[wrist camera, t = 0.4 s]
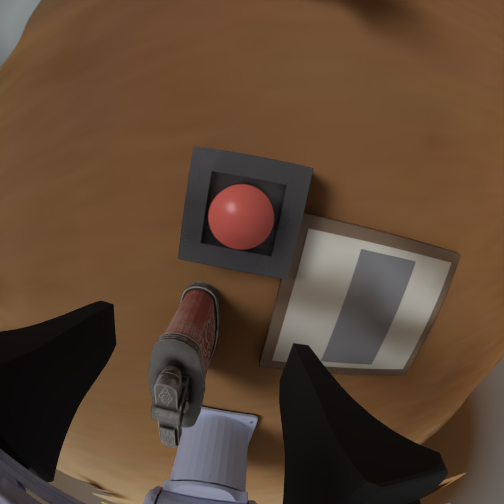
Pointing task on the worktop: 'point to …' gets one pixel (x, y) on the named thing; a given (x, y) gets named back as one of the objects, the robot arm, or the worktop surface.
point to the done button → (241, 216)
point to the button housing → (262, 176)
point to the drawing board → (357, 298)
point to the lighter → (184, 362)
